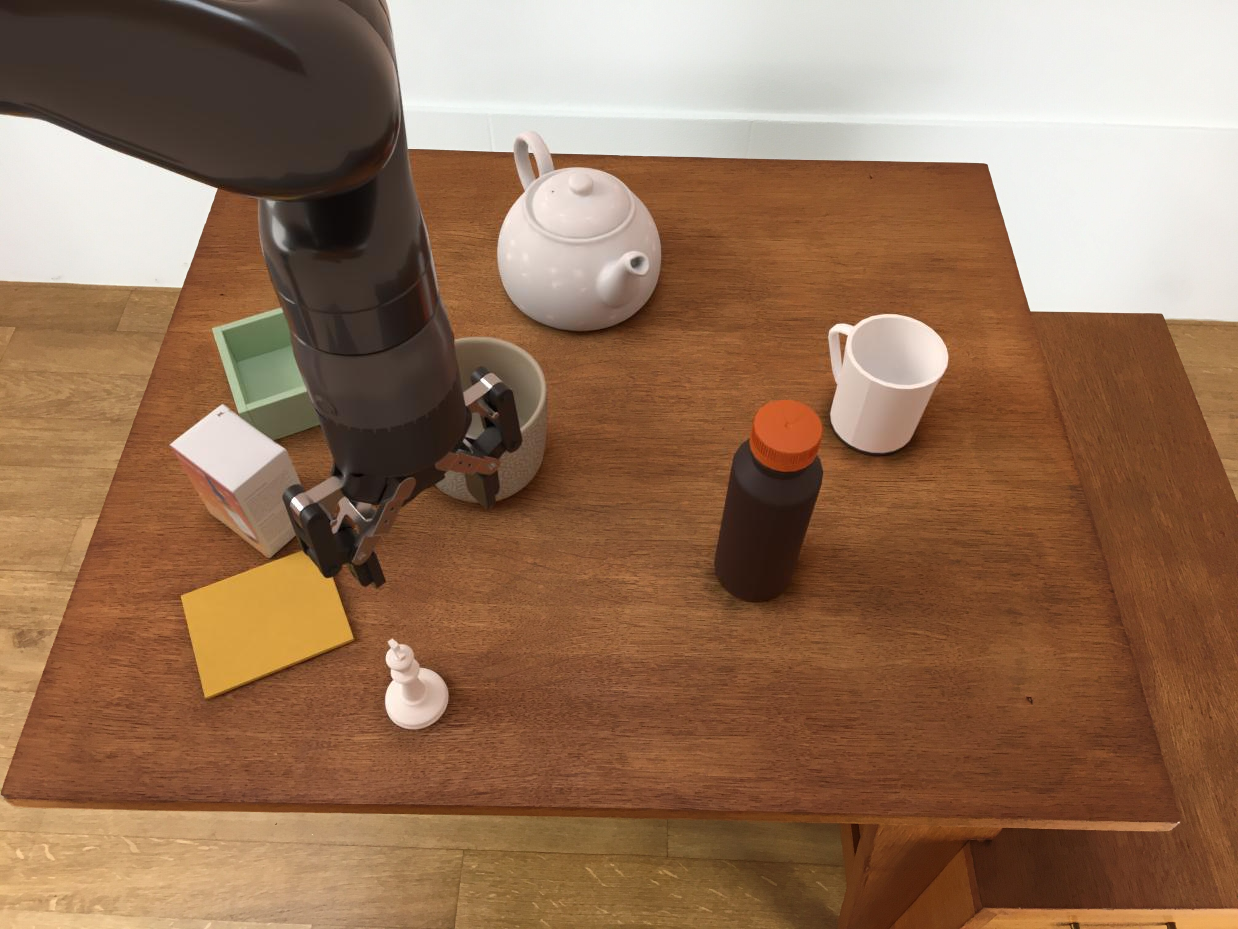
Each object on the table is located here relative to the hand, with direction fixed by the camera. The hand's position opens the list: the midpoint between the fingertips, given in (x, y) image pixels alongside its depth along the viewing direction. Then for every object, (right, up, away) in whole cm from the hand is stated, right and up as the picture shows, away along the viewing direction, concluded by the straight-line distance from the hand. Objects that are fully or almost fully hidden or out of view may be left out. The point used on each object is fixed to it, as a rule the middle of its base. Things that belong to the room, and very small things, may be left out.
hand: (428, 536), depth 61 cm
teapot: (+8, +25, +43) cm, 50 cm away
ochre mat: (-17, -8, +19) cm, 27 cm away
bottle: (+24, -4, +22) cm, 33 cm away
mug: (+36, +9, +32) cm, 49 cm away
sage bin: (-19, +13, +34) cm, 41 cm away
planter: (0, +4, +28) cm, 29 cm away
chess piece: (-4, -14, +15) cm, 21 cm away
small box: (-20, 0, +25) cm, 32 cm away
